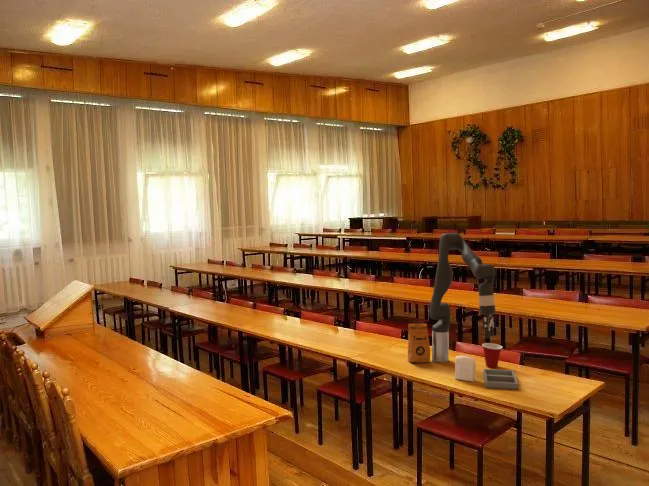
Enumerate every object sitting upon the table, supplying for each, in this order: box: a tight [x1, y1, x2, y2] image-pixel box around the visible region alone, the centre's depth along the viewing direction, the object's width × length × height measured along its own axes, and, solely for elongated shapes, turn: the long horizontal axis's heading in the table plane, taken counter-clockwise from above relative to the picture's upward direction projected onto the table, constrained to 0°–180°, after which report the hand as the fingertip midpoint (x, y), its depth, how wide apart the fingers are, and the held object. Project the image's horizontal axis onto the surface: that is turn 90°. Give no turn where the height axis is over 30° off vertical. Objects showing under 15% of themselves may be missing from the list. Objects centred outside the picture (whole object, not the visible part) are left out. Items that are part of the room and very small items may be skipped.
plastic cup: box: [481, 342, 503, 369], centre depth 300 cm, size 11×11×12 cm
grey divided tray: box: [482, 368, 519, 391], centre depth 276 cm, size 15×21×3 cm
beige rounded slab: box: [454, 355, 476, 383], centre depth 280 cm, size 10×4×12 cm, turn 60°
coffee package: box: [407, 323, 431, 364], centre depth 312 cm, size 10×12×22 cm
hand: (489, 337), depth 271 cm, fingers open, 8 cm apart
